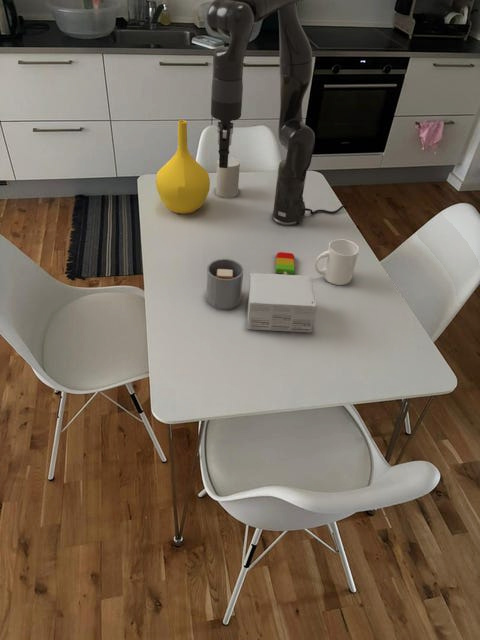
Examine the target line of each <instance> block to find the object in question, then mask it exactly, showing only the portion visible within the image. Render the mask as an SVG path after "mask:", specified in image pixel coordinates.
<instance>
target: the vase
mask: <svg viewBox="0 0 480 640" xmlns="http://www.w3.org/2000/svg"><path fill="white" fill-rule="evenodd" d="M187 126H188V123H187V121H186V120H184V119H180V120H178V121H177V150H176V152H175V154H173V156H172V157H171V158H170V159H169V160H168V161H167V162H166V163H165V164H164V165H162V167H161V168H160V169H158V171H157V172H156V173H157V174H156V179H155V188H156V190H157V193H158V196H159V198H160V200H161V202H162V203H163V204H164V205H165V207H166V208H168V210H169V211H171V212H173V213H175V214H180V215H181V214H182V215H184V214H185V215H186V214H192V213H194V212H196V211H197V210H199V208H201V207H202V206H203V204H204V203H205V201H207V198H208V194H209V192H210V189H211V188H210V187H211V180H210V174H209V173H208V171H207V170H206V169H205V168H204V167H203V166H202V165H201V164H200V163H199V162H198V161H197V160H196V158H194V157H193V156H192V155H191V153H190V152H189V149H188V127H187Z"/></svg>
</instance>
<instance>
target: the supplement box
mask: <svg viewBox="0 0 480 640" xmlns="http://www.w3.org/2000/svg"><path fill="white" fill-rule="evenodd" d="M313 282H314V281H313V276H312V275H298V274H287V275H284V274H282V273H262V272H261V273H260V272H250V275H249V285H248V296H247V326H246V327H247V328H246V329H247V330H256V331H257V330H258V331H272V332H273V331H274V332H275V331H276V332H290V333H291V332H292V333H309V334H310V333H312V331H313V325H314V320H315V316H316V311H317V301H316V295H315V289H314V283H313Z"/></svg>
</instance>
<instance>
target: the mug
mask: <svg viewBox="0 0 480 640" xmlns="http://www.w3.org/2000/svg"><path fill="white" fill-rule="evenodd" d="M359 252H360V248H359V246H358V245H357V244H356V243H355V242H353V241H351V240H348V239H344V238H338V239H333V240H331V241H330V242H329V243H328V248H327V250H326V251H325V250H324V252H321V253H320V254H319V255H318V256H317V258H316V260H315V263H314V268H315V271H316V272H317V273H318V274H319V275H323V277H324V279H325V280H326V281H327V282H328V283H330V284H333V285H337V286H343V285H344V286H345V285H347V284H349V283H350V282H351V281H352V278H353V274H354V272H355V267H356V263H357V260H358V256H359ZM324 258H325V263H324V267H323V268H318V267H317V264H318V262H319V261H320V260H321V259H324Z"/></svg>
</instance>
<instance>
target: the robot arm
mask: <svg viewBox="0 0 480 640" xmlns="http://www.w3.org/2000/svg"><path fill="white" fill-rule="evenodd" d="M302 1H303V0H213V1H212V2H211V3H210V4H209V6H208V8H207V11H206V17H205V18H206V19H205V20H206V24H207V26H208V28H209V30H210V31H211V32H212V33H213V34H215V35H218V36H223V37H227V38H230V43H229V45H228V46H222V47H217V48H216V49H215V50H214V52H213V61H212V63H213V64H212V67H213V68H212V81H211V91H210V92H211V93H210V95H211V96H210V115H211V117H212V118H214V119H215V120H219V121H217V129H216V132H217V145H218V155H219V158H218V159H219V167H220V168H227V167H228V157H229V155H230V146H232V139H233V138H232V137H233V133H234V122H232V121H237V120H239V119H240V118H241V116H242V110H243V109H242V108H243V107H242V106H243V93H244V85H243V84H244V83H243V82H244V81H243V75H244V60H245V56H246V52H247V49H248V45H249V43H250V39H251V36H252V33H253V30H254V26H255V24H258V23H259V22H261V21H263V20H264V19H266V18H267V17H269V16H270V15H273V14H274V13H275V12H277V15H278V29H279V31H278V32H279V33H278V34H279V35H278V36H279V90H280V91H279V99H280V101H279V102H280V104H279V105H280V106H279V118H278V131H277V137H278V141H279V143H280V145H281V146H282V147H283V148H284V149H285V150H286V151H287V152H286V156H285V159H283V160H281V161H280V162H279V163H278V167H277V176H276V183H275V185H276V186H275V191H274V192H275V193H274V202H273V208H272V209H273V210H272V215H271V219H272V220H273V222H274V223H276V224H278V225H280V226H295V225H300V224H301V223H300V222H301V217H305V215H306V212H309V213H310V215H314V214H316V213H320V212H321V213H325V214H336V213H339V212H340V211H341V210H342V209H343V208H344V209H348V206H347V205H345V204H343V205H341V206H340V207H338V208H337V209H336V210H334V211H333V210H332V211H331V210H326V209H316V210H312V209H311V208H306V204H305V200H304V192H305V191H304V190H305V184H306V177H307V172H308V170H309V168H310V166H311V163H312V158H313V153H314V149H315V143H316V136H315V132H314V130H313V129H312V128H311V127H309V126H308V125H307V124H306V123H304V120H303V103H304V97H305V94H306V93H307V90H308V88H309V86H310V85H311V84H310V83H311V80H312V76H313V49H312V46H311V43H310V41H309V39H308V37H307V34H306V32H305V31H304V29H303V27H302V24H301V22H300V20H299V15H298V9H297V3H298V2H302Z"/></svg>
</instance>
